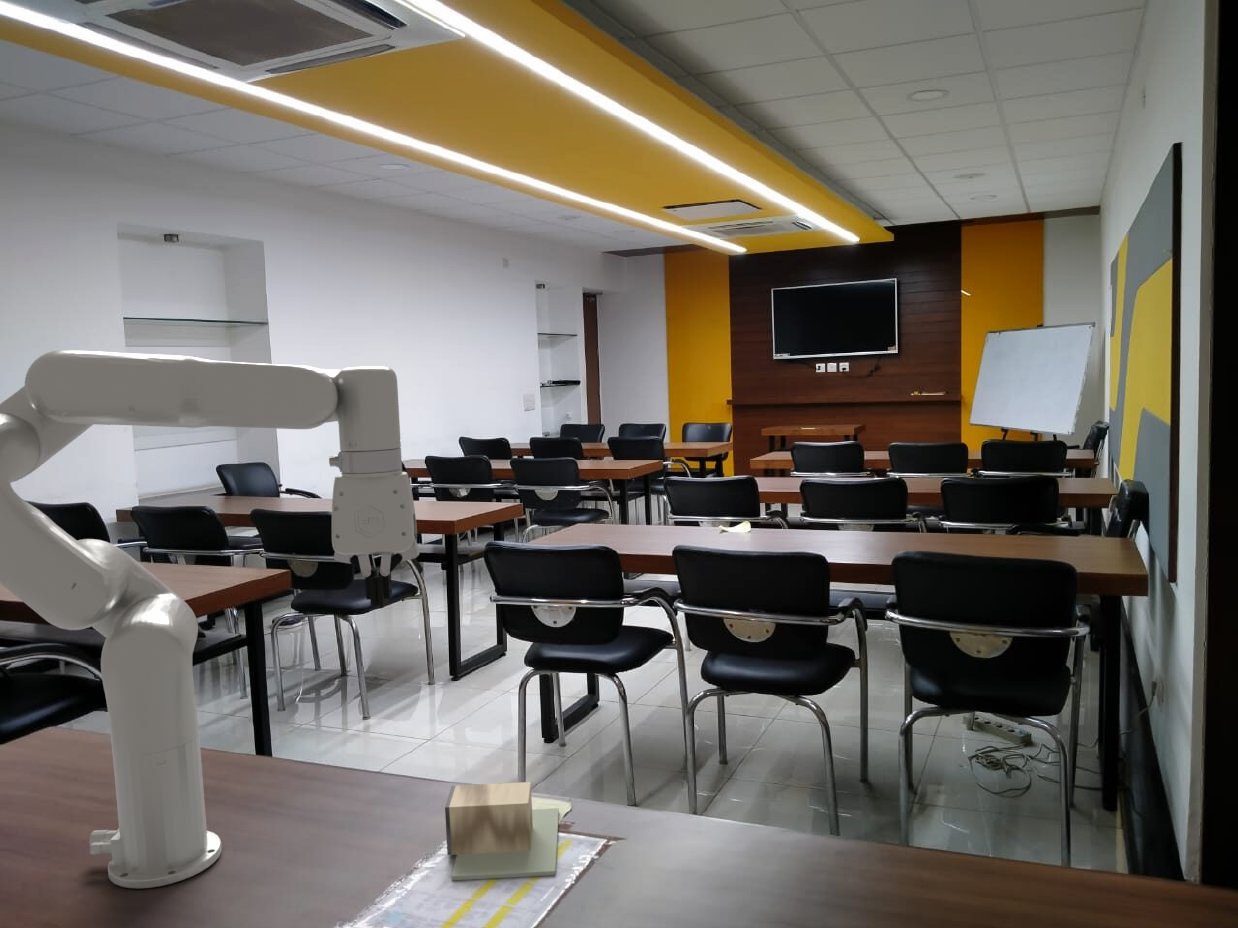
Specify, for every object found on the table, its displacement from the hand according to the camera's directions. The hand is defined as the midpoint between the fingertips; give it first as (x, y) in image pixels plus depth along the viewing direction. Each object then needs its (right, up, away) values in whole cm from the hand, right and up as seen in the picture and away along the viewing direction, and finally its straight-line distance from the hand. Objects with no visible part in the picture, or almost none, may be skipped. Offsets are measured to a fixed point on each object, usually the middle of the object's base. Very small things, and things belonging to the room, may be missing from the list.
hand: (379, 604), depth 122 cm
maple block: (+10, -26, -5) cm, 28 cm away
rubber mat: (+17, -29, -5) cm, 34 cm away
